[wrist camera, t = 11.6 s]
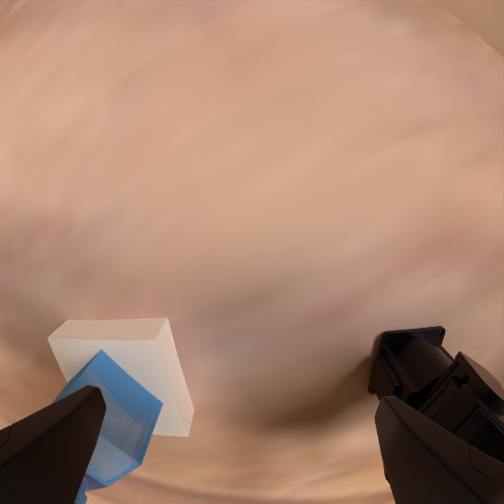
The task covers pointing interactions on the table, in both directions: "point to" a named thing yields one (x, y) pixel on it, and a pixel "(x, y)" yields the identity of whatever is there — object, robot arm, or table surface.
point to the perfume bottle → (115, 422)
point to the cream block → (131, 361)
